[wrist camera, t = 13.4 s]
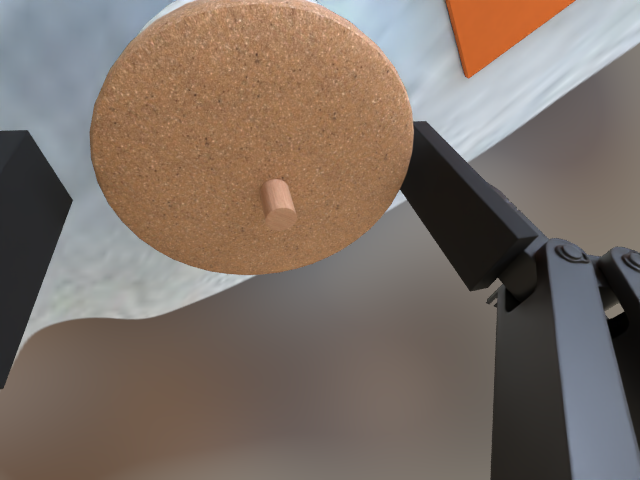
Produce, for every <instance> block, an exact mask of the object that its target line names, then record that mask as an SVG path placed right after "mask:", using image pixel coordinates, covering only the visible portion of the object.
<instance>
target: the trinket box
mask: <svg viewBox="0 0 640 480" xmlns="http://www.w3.org/2000/svg"><path fill="white" fill-rule="evenodd" d="M413 135H414V129H413V118H412V110H411V106H410V102H409V99H408V95H407V92H406V89H405V87H404V85H403V83H402V81H401V79H400V77H399V75H398V73H397V71H396V69H395V67H394V66H393V65H392V63H391V62H390V61H389V59H388V58H387V57H386V56H385V54H384V53H383V52H382V50H381V49H380V48H379V47H378V46H377V45H376V44H375V43H374V42H373V41H372V40H371V39H370V38H368V37H367V36H366V35H365V34H364V33H363V32H361V31H360V30H359V29H358V28H357V27H356V26H354V25H353V24H352V23H351V22H350V21H348V20H346V19H344V18H343V17H341V16H339V15H337V14H336V13H334V12H332V11H330V10H329V9H327V8H326V7H324V6H322V5H320V4H318V3H317V2H315V1H313V0H176V1H175V2H173V3H171V4H169V5H167V6H166V7H165V8H164V9H163V10H161V11H160V12H159V13H158V14H157V15H156V16H155V17H153V18H152V19H151V20H150V21H149V22H148V23H146V25H145V26H144V27H143V29H142V30H141V31H140V33H139V34H138V35H137V37H135V38H134V39H133V40H132V41H131V42H130V43H129V44H128V46H127V47H126V48H125V50H124V51H123V52H122V54H121V55H120V56H119V58H118V59H117V60H116V62H115V63H114V65H113V66H112V67H111V69H110V71H109V72H108V75H107V77H106V79H105V82H104V84H103V86H102V88H101V91H100V93H99V95H98V98H97V100H96V102H95V105H94V110H93V116H92V122H91V127H90V148H91V160H92V164H93V167H94V171H95V174H96V178H97V182H98V184H99V186H100V188H101V190H102V192H103V194H104V196H105V198H106V200H107V202H108V203H109V205H110V206H111V207H112V209H113V210H114V211H115V213H116V214H117V215H118V217H119V218H120V219H121V221H122V222H123V223H124V224H125V225H126V226H127V227H128V228H129V229H130V230H131V231H132V232H133V233H134V234H135V235H137V236H138V237H139V238H140V239H141V240H143V241H144V242H146V243H147V244H148V245H150V246H151V247H153V248H154V249H156V250H157V251H159V252H161V253H163V254H165V255H166V256H168V257H170V258H172V259H174V260H177V261H179V262H182V263H185V264H187V265H190V266H193V267H197V268H200V269H204V270H207V271H212V272H219V273H226V274H238V275H258V274H269V273H277V272H283V271H288V270H292V269H296V268H300V267H303V266H306V265H310V264H313V263H315V262H317V261H320V260H322V259H324V258H327V257H329V256H331V255H333V254H334V253H337V252H338V251H340V250H342V249H344V248H345V247H347V246H348V245H350V244H351V243H352V242H354V241H356V240H357V239H358V238H359V237H360V236H362V235H363V234H364V233H365V232H367V231H368V230H369V229H370V228H371V227H372V226H373V225H374V224H375V223H376V222H377V221H378V220H379V219H380V218H381V216H382V215H383V214H384V213H385V211H386V210H387V209H388V208H389V206H390V205H391V204H392V202H393V200H394V198H395V197H396V195H397V193H398V191H399V190H400V188H401V185H402V183H403V181H404V178H405V176H406V174H407V170H408V166H409V162H410V158H411V154H412V147H413Z"/></svg>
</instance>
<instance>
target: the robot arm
mask: <svg viewBox="0 0 640 480" xmlns="http://www.w3.org/2000/svg"><path fill="white" fill-rule="evenodd" d="M413 129H414V135H413V147H412V154H411V158H410V162H409V166H408V170H407V174H406V176H405V178H404V181H403V183H402V185H401V188H400V190H401V192H402V193H403V194H404V196H405V197H406V199H407V200H408V201H409V203H410V204H411V206H412V208H413V209H414V210H415V212H416V213H417V215H418V216H419V218H420V219H421V221H422V222H423V224H424V225H425V226H426V228H427V229H428V231H429V232H430V234H431V235H432V237H433V238H434V239H435V241H436V243H437V244H438V245H439V247H440V248H441V250H442V251H443V252H444V254H445V256H446V257H447V259H448V260H449V261H450V263H451V264H452V266H453V267H454V268H455V270H456V271H457V273H458V275H459V276H460V277H461V279H462V280H463V282H464V283H465V285H466V286H467V288H468V289H469V291H475V290H479V289H484V288H488V287H489V286H490V285H491V284H492V283H493V282H494V281H495V280H496V278H499V279H500V281H501V282H502V283H503V284H502V285H501V286H500V287H499V288H498V289H497V290H496V291H495V292H494V293H493V294H492V295H491V296H490V297H489V298H488V299H487V302H486V303H487V304H490V303H491V302H492V301H493V300H494V299H495V298H498V300H497V303H496V304H495V305H494V307H497V326H496V353H495V354H496V355H495V377H494V403H493V431H492V455H491V480H640V253H638V252H637V251H635V250H631V249H628V248H625V247H615V248H612V249H611V250H610V251H608V252H607V253H606V254H604V255H603V256H602V257H601V256H593V255H587V254H586V253H585V252H584V251H583V250H582V249H581V248H579V247H578V246H577V245H575V244H573V243H571V242H569V241H567V240H563V239H559V238H554V239H553V238H552V239H550V240H549V239H548V238H547V237H546V236H545V235H544V234H543V233H542V232H541V231H540V230H539V229H538V228H537V227H536V226H535V225H534V224H533V223H532V222H531V221H530V220H529V219H528V218H527V217H526V216H525V215H524V214H523V213H522V212H521V211H520V210H517V207H516V206H515V205H514V204H513V203H512V202H509V199H508V198H506V196H505V195H504V194H503V193H502V192H501V191H499V190H498V189H497V188H495V187H493V186H492V185H490V184H489V183H487V182H486V181H485V180H484V179H483V178H482V177H481V176H480V175H479V174H478V173H477V172H476V171H475V170H474V169H473V168H472V167H471V166H470V165H469V164H468V163H467V162H466V161H465V160H464V159H463V158H462V157H461V156H460V155H459V154H458V153H457V152H456V151H455V150H454V149H453V148H452V147H451V146H450V145H449V144H448V143H447V142H446V141H445V140H444V139H443V138H442V137H441V136H440V135H439V134H438V133H437V132H436V131H435V130H434V129H433V128H432V127H431V126H430V125H429V124H428V123H427V122H426V121H417V122H413ZM72 201H73V200H72V198H71V197H70V195H69V194H68V192H67V190H66V189H65V187H64V186H63V184H62V183H61V181H60V180H59V178H58V177H57V175H56V173H55V172H54V170H53V169H52V167H51V166H50V164H49V163H48V161H47V159H46V158H45V156H44V155H43V153H42V152H41V150H40V149H39V147H38V146H37V144H36V142H35V141H34V139H33V138H32V136H31V135H30V133H29V132H28V130H19V131H0V389H3V388H4V385H5V383H6V380H7V377H8V375H9V372H10V369H11V366H12V364H13V361H14V358H15V356H16V353H17V350H18V347H19V345H20V342H21V339H22V337H23V334H24V331H25V328H26V326H27V323H28V320H29V318H30V315H31V312H32V309H33V307H34V304H35V301H36V299H37V296H38V293H39V290H40V288H41V285H42V282H43V280H44V277H45V274H46V272H47V269H48V266H49V263H50V261H51V258H52V255H53V253H54V250H55V247H56V244H57V242H58V239H59V236H60V234H61V231H62V228H63V225H64V223H65V220H66V217H67V215H68V212H69V209H70V206H71V204H72ZM618 303H620V304H621V306H622V308H623V309H624V312H623V313H621V314H619V315H617V316H616V317H614V318H611V319H609V318H607V316H606V315H605V312H604V311H606V310H608V309H609V308H611V307H613V306H614V305H616V304H618Z"/></svg>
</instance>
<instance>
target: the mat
mask: <svg viewBox="0 0 640 480" xmlns="http://www.w3.org/2000/svg"><path fill="white" fill-rule="evenodd" d="M574 1H575V0H446V4H447V8H448V12H449V16H450V20H451V24H452V28H453V31H454V35H455V39H456V43H457V47H458V51H459V55H460V59H461V62H462V66H463V70H464V74H465V77H467V78H468V79H469V78H470V77H472V76H473V75H474V74H476V73H477V72H478V71H480V70H481V69H483V68H484V67H485V66H487V65H488V64H489V63H491V62H492V61H493V60H495V59H496V58H498V57H499V56H500V55H502V54H503V53H504V52H506V51H507V50H508V49H510V48H511V47H513V46H514V45H515V44H517V43H518V42H519V41H521V40H522V39H524V38H525V37H526V36H528V35H529V34H530V33H532V32H533V31H534V30H536V29H537V28H539V27H540V26H541V25H543V24H544V23H545V22H547V21H548V20H549V19H551V18H552V17H554V16H555V15H556V14H558V13H559V12H560V11H562V10H563V9H565V8H566V7H567V6H569V5H570V4H571V3H573V2H574Z"/></svg>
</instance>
